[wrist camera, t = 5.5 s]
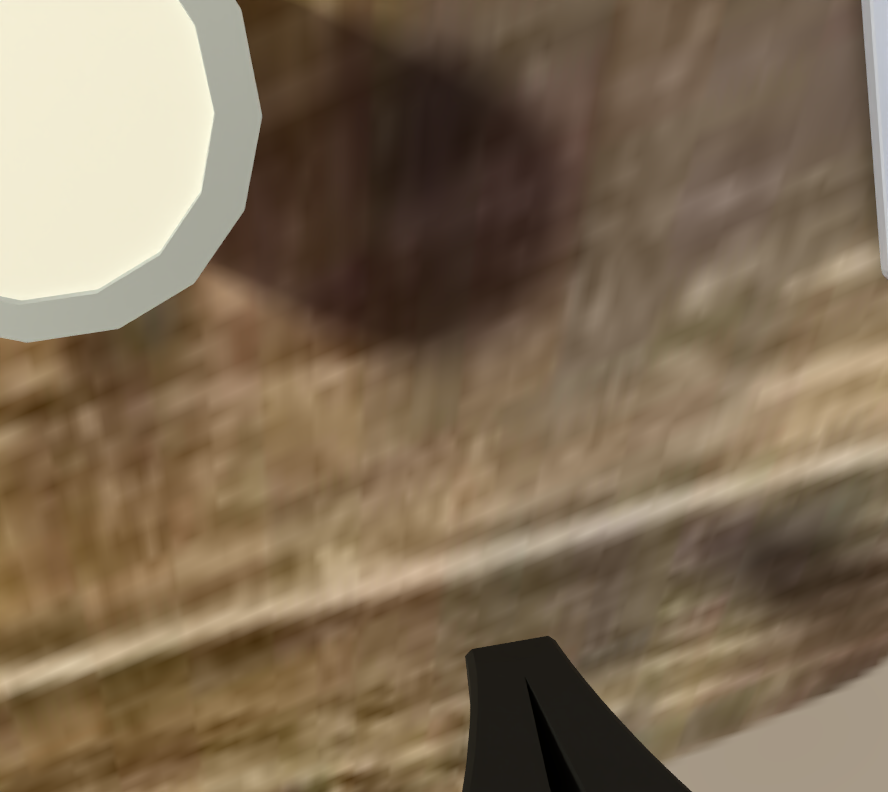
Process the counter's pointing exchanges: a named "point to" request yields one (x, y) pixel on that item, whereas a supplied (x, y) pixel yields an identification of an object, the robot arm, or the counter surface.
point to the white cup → (117, 155)
